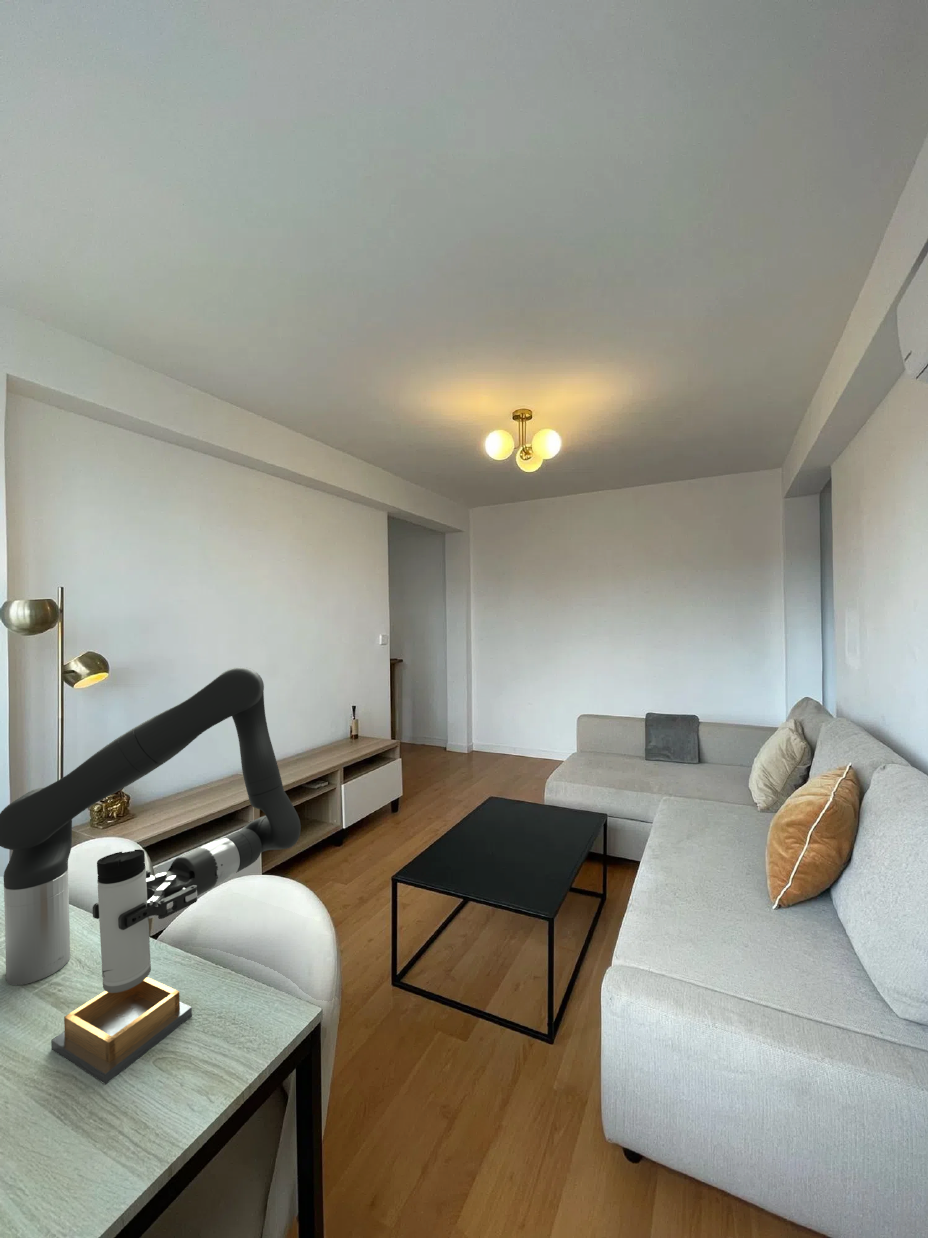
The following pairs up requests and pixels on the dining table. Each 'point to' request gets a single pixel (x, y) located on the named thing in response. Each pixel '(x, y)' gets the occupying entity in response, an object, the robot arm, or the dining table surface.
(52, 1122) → the dining table surface
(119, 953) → the travel mug
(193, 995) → the dining table surface
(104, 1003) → the wooden tray
